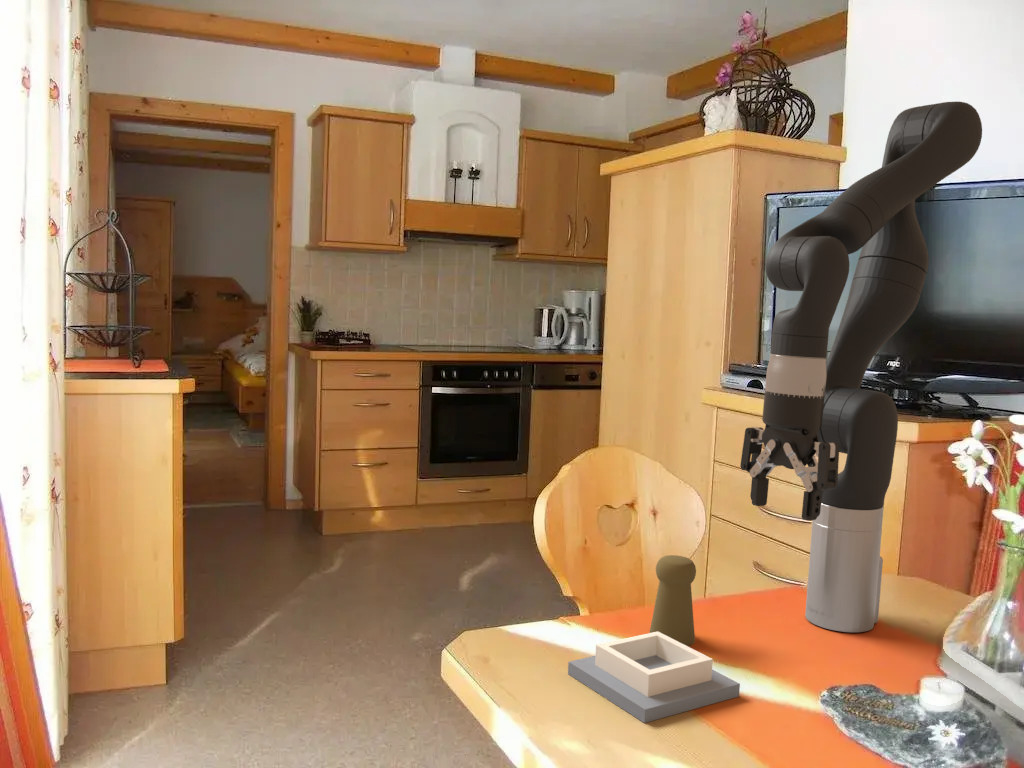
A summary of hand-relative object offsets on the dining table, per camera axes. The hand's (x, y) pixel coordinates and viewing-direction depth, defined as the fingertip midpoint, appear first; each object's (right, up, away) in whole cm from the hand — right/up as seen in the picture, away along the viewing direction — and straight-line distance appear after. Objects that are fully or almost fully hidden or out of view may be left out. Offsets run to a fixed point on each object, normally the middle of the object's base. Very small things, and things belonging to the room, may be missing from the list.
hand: (783, 512), depth 122 cm
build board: (-20, -18, -15) cm, 30 cm away
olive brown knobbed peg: (-15, -17, 0) cm, 22 cm away
